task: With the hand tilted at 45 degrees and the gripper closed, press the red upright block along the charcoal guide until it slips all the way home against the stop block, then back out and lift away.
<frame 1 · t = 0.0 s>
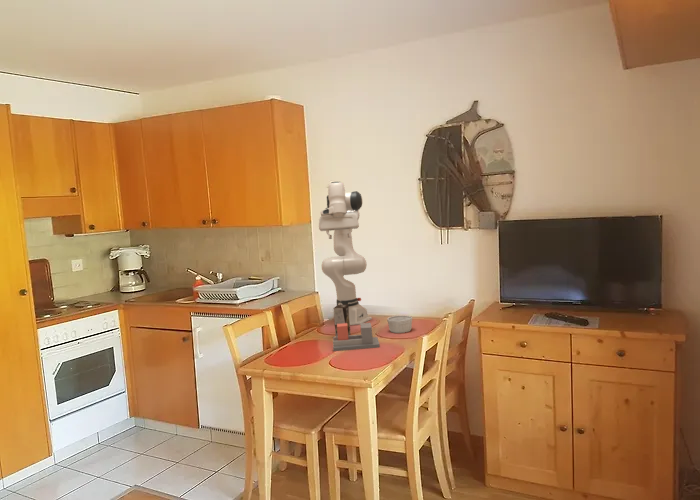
hand: (339, 238, 278), 52 cm above the table, tool tilted 20°, fingers open, 8 cm apart
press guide: (356, 345, 269), on the table
ramekin: (400, 331, 292), on the table
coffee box: (343, 336, 289), on the table
red upright block: (342, 333, 269), point 6 cm above the table, slide at 0.0 cm
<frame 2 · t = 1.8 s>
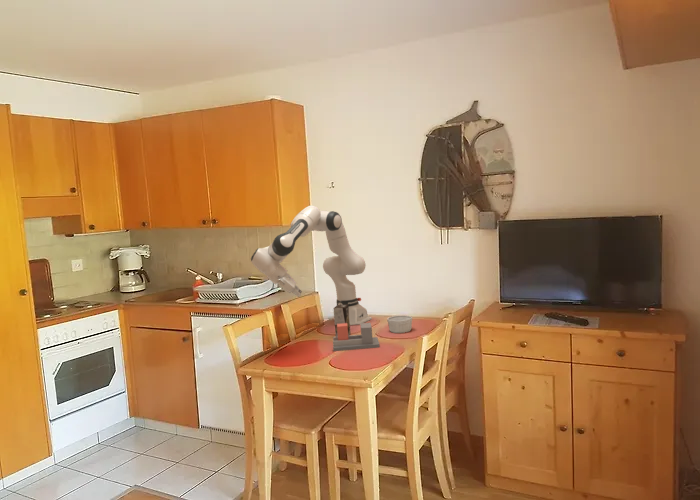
hand: (300, 294, 266), 27 cm above the table, tool tilted 45°, fingers open, 8 cm apart
nothing on the table moved.
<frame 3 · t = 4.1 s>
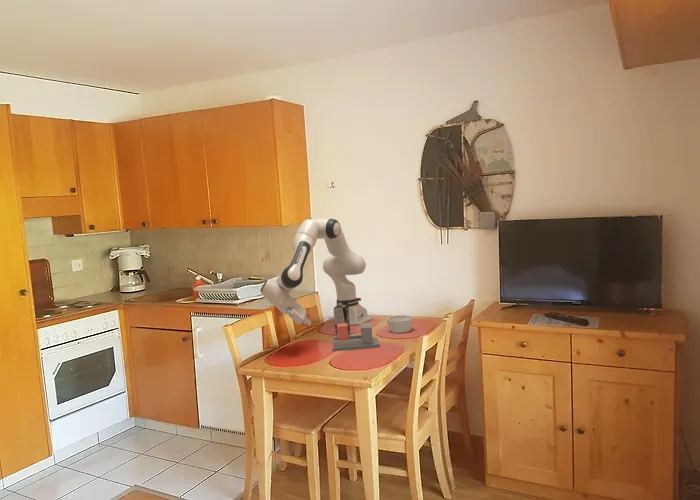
hand: (310, 324, 268), 12 cm above the table, tool tilted 45°, fingers closed
nothing on the table moved.
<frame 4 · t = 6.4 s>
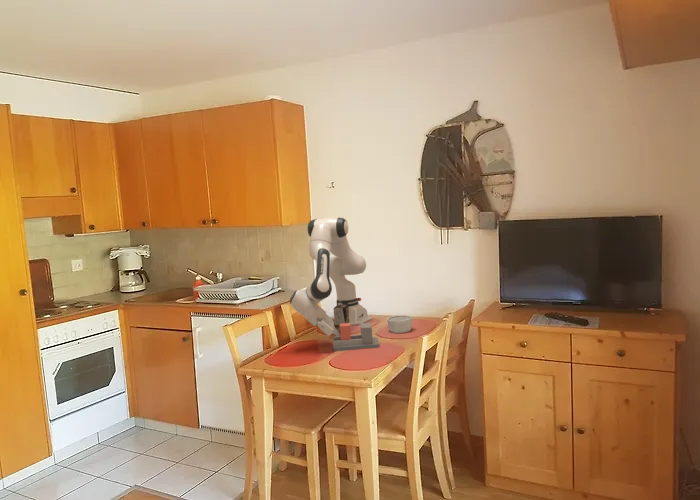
hand: (339, 335, 269), 6 cm above the table, tool tilted 45°, fingers closed, pressing on red upright block
red upright block: (345, 333, 269), point 6 cm above the table, slide at 1.3 cm, touching gripper
everything else where it was.
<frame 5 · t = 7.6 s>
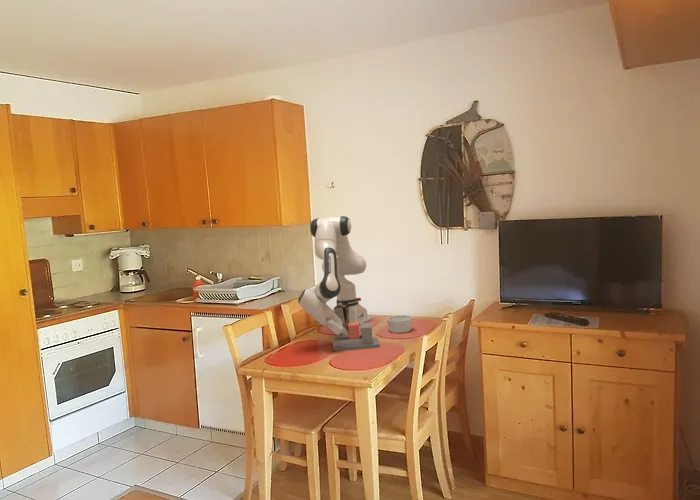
hand: (347, 334, 269), 6 cm above the table, tool tilted 45°, fingers closed, pressing on red upright block
red upright block: (354, 333, 269), point 6 cm above the table, slide at 5.5 cm, touching gripper
everything else where it was.
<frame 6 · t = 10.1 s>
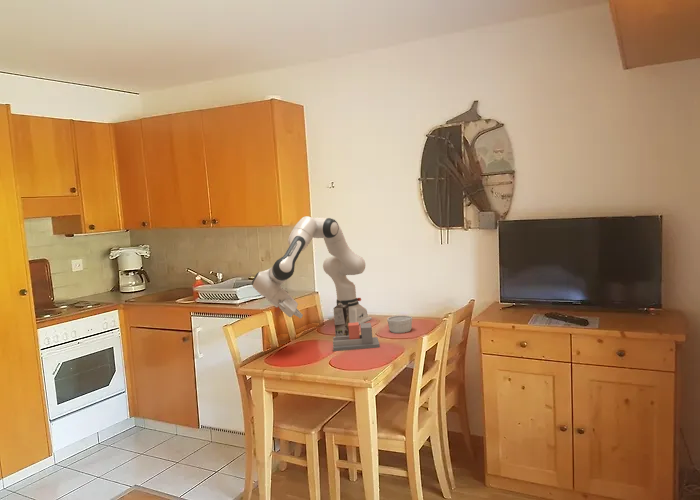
hand: (301, 316, 268), 16 cm above the table, tool tilted 45°, fingers closed
red upright block: (354, 333, 269), point 6 cm above the table, slide at 5.5 cm
everything else where it was.
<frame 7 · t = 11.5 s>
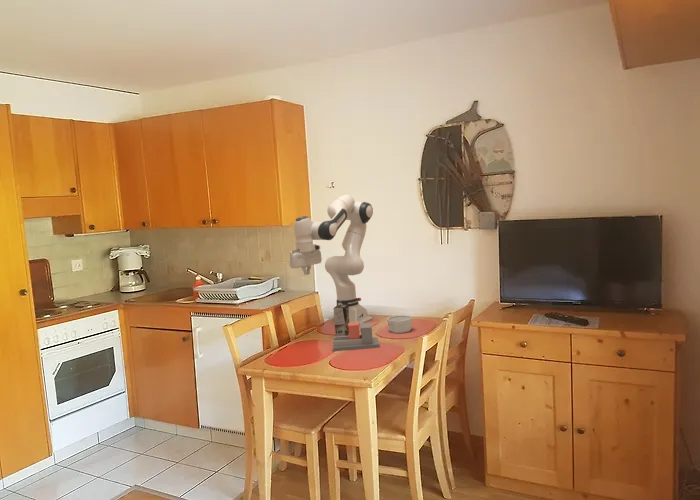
hand: (307, 274, 287), 34 cm above the table, tool pointing down, fingers closed
nothing on the table moved.
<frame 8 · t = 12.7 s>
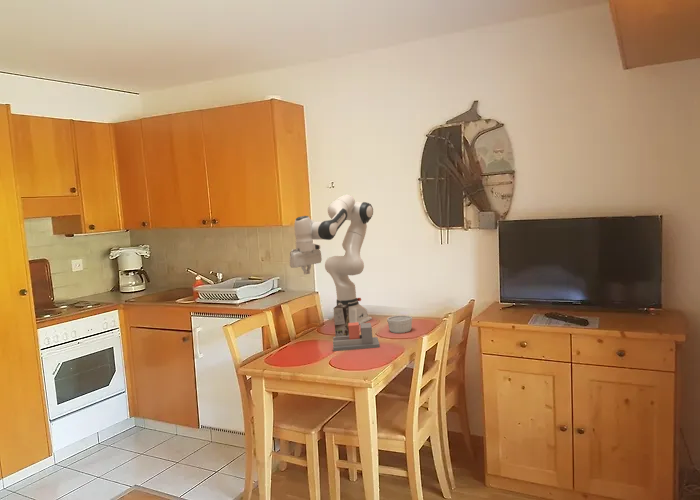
hand: (306, 274, 287), 34 cm above the table, tool pointing down, fingers closed
nothing on the table moved.
at the end: red upright block slide at 5.5 cm; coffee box moved 0.2 cm from its start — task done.
